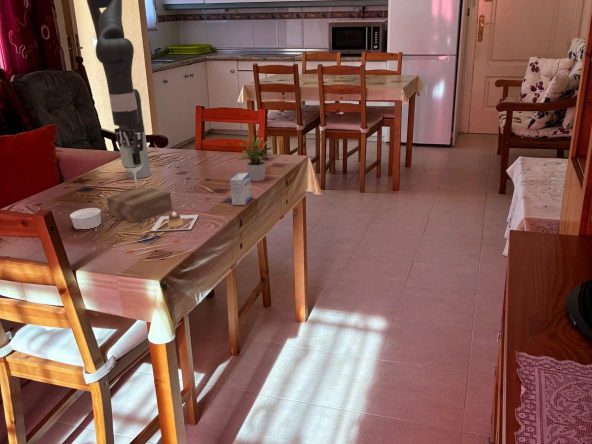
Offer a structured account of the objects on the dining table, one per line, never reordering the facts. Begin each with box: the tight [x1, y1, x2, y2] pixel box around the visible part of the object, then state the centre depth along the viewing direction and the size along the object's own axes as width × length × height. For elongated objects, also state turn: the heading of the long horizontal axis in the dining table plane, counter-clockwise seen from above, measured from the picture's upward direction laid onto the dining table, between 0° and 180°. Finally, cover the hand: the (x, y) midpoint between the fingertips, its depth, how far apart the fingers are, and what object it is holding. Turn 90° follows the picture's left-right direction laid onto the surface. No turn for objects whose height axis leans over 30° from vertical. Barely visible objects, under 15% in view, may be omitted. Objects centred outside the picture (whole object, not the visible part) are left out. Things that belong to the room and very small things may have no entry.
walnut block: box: [106, 185, 173, 224], centre depth 183 cm, size 14×14×6 cm
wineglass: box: [123, 165, 143, 190], centre depth 205 cm, size 7×7×12 cm
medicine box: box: [229, 172, 253, 206], centre depth 187 cm, size 8×4×9 cm, turn 168°
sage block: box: [118, 145, 145, 168], centre depth 178 cm, size 5×5×6 cm
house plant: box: [239, 134, 277, 182], centre depth 207 cm, size 14×14×16 cm
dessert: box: [150, 211, 199, 232], centre depth 171 cm, size 12×12×5 cm
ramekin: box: [69, 207, 102, 230], centre depth 174 cm, size 9×9×4 cm
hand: (133, 162), depth 178 cm, fingers closed on sage block, 5 cm apart
